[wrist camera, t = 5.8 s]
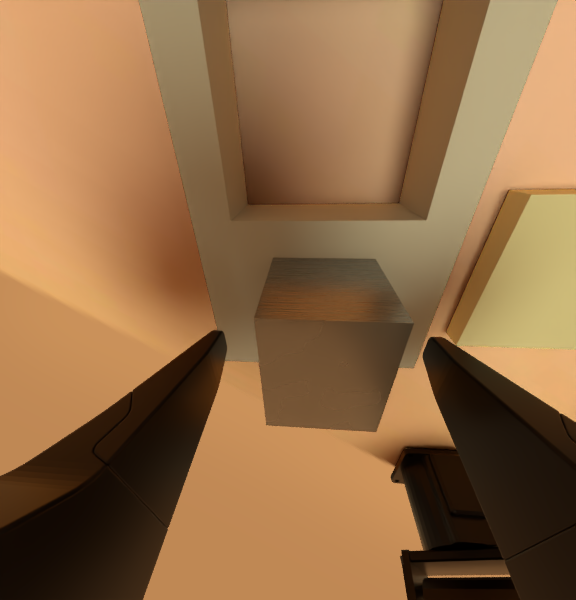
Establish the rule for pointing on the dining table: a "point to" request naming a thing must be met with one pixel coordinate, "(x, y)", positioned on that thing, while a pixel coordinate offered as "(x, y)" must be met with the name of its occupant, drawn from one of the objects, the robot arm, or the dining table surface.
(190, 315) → the dining table surface
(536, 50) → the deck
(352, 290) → the block
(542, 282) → the pad
